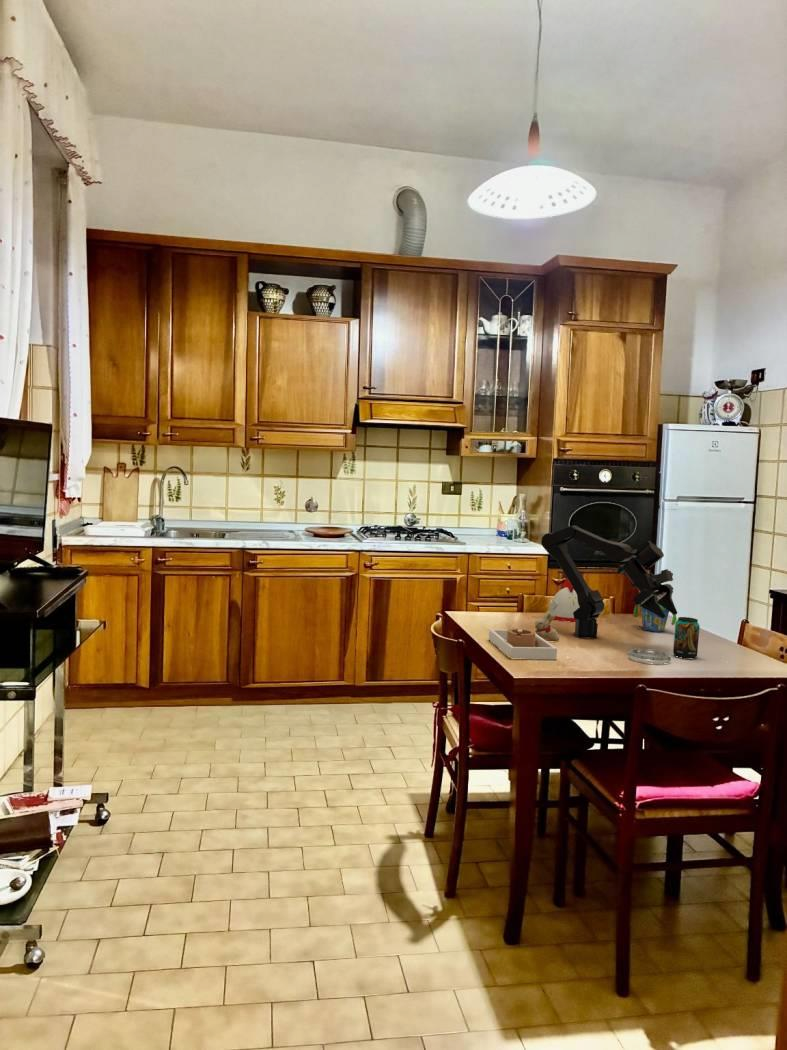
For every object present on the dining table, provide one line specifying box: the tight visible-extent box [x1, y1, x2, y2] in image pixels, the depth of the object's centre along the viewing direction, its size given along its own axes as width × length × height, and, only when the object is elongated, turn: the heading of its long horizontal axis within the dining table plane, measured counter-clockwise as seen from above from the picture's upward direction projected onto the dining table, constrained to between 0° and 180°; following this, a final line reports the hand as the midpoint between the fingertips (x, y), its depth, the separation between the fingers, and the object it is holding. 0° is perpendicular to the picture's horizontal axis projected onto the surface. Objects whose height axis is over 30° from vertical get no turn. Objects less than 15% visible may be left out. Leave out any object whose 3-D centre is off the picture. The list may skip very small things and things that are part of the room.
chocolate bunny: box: [534, 610, 560, 642], centre depth 252 cm, size 6×8×10 cm
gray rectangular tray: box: [488, 629, 558, 660], centre depth 237 cm, size 14×24×4 cm, turn 8°
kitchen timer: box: [547, 578, 579, 623], centre depth 292 cm, size 14×14×15 cm
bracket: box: [507, 628, 536, 647], centre depth 237 cm, size 18×8×7 cm, turn 168°
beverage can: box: [672, 616, 701, 659], centre depth 239 cm, size 7×7×12 cm
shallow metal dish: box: [627, 648, 672, 664], centre depth 233 cm, size 12×12×2 cm
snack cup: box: [633, 602, 677, 633], centre depth 278 cm, size 16×10×10 cm
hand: (670, 615), depth 242 cm, fingers open, 9 cm apart
